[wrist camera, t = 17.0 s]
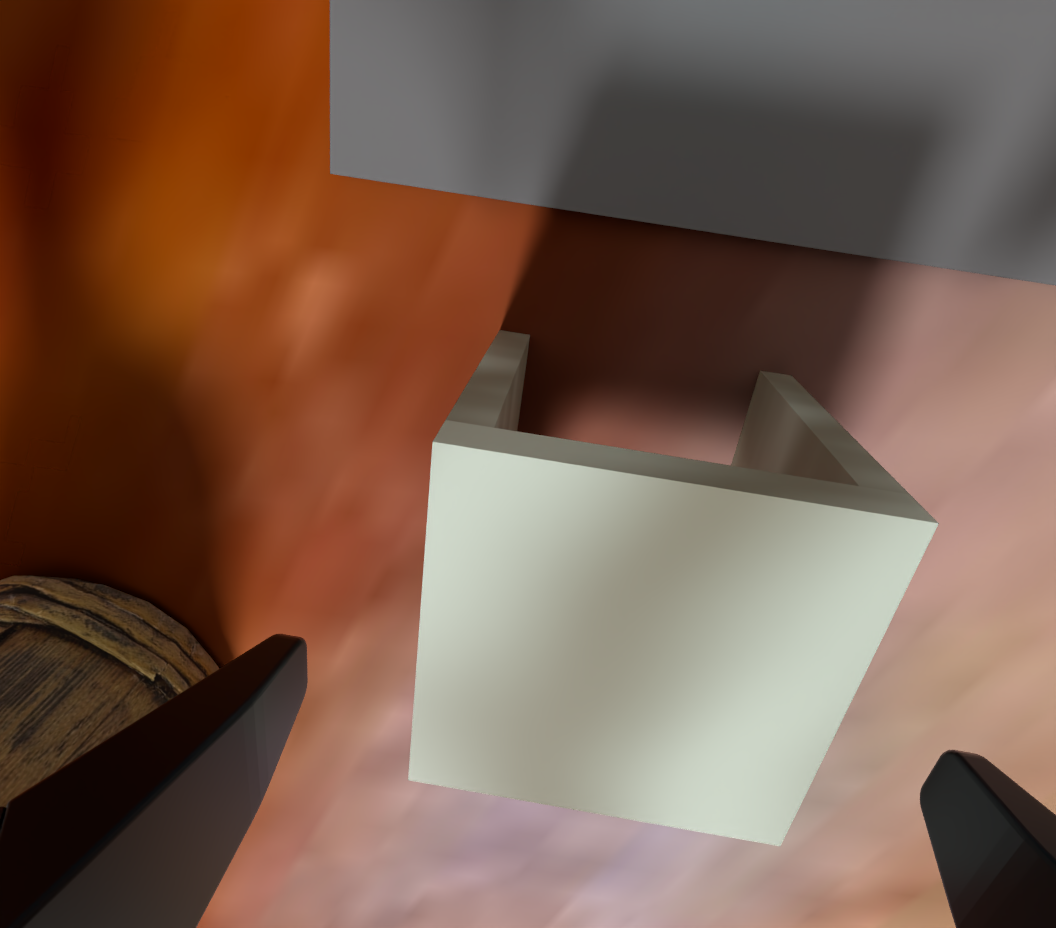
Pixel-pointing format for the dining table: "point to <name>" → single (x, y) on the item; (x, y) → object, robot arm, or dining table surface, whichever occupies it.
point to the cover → (650, 609)
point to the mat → (722, 117)
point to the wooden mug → (81, 671)
